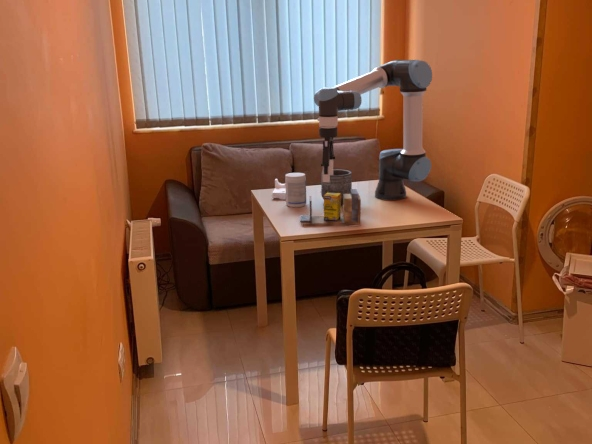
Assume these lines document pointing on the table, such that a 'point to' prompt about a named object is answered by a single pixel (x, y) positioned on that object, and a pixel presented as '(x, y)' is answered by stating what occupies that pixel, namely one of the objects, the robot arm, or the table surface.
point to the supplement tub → (295, 189)
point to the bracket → (279, 190)
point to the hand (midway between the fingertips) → (328, 178)
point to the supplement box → (332, 206)
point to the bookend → (307, 217)
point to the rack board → (333, 223)
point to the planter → (337, 183)
